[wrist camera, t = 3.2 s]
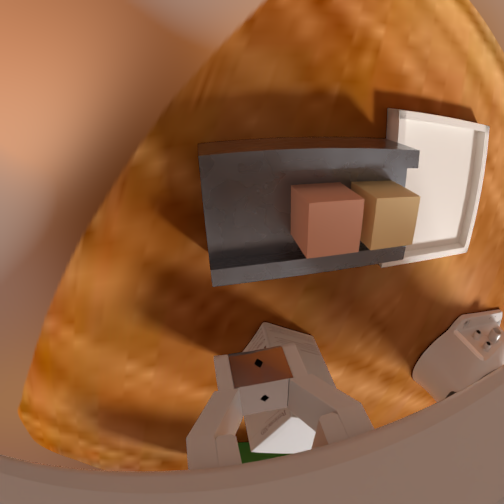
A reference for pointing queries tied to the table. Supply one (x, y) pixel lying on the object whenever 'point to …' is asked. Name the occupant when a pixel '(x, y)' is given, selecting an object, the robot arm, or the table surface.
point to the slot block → (285, 200)
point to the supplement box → (283, 420)
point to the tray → (441, 180)
